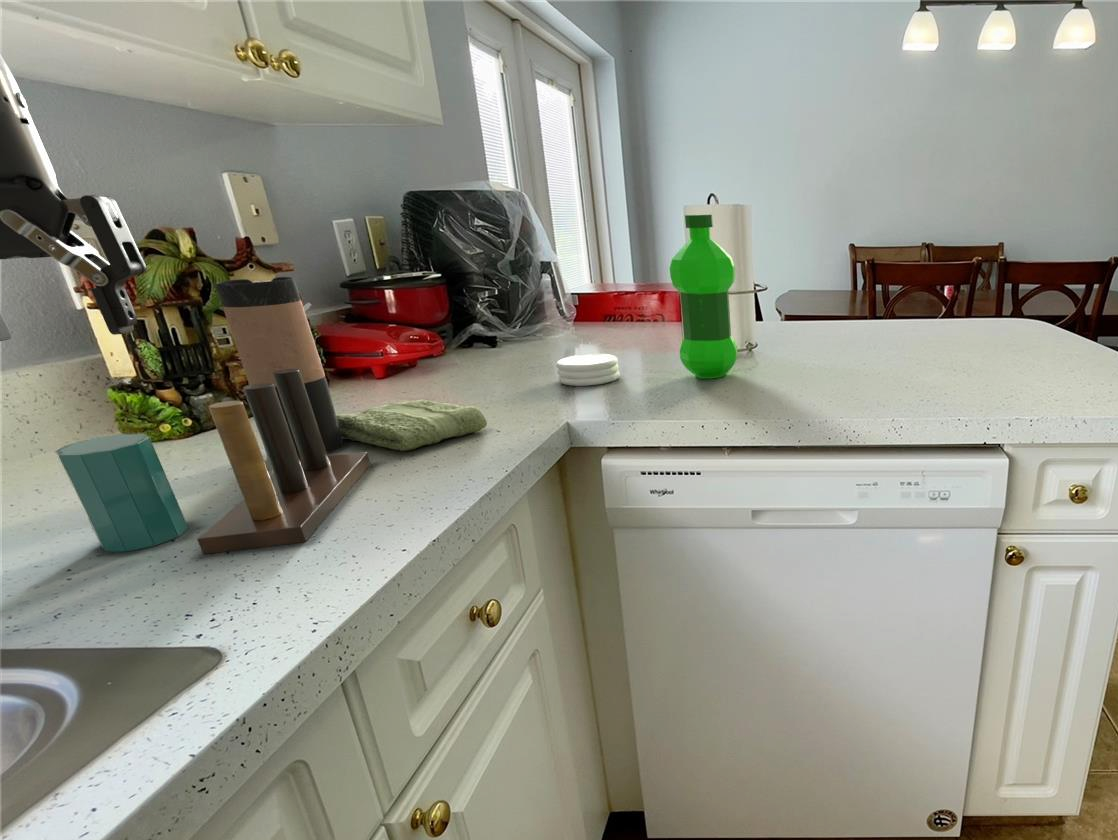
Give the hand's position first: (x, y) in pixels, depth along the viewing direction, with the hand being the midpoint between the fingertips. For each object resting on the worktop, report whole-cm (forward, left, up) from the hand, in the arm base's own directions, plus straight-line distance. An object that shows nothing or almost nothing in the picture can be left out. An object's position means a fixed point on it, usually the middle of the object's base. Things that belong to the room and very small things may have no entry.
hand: (62, 336), depth 59 cm
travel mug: (+6, +24, -18) cm, 31 cm away
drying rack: (+11, +4, -18) cm, 21 cm away
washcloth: (+17, +27, -18) cm, 37 cm away
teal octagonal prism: (0, -1, -18) cm, 18 cm away
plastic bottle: (+60, +47, -18) cm, 78 cm away
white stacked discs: (+40, +51, -18) cm, 67 cm away
